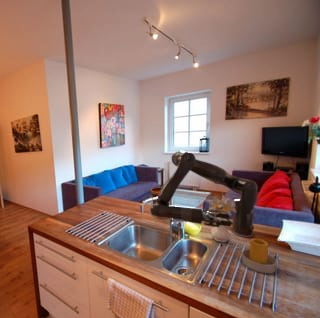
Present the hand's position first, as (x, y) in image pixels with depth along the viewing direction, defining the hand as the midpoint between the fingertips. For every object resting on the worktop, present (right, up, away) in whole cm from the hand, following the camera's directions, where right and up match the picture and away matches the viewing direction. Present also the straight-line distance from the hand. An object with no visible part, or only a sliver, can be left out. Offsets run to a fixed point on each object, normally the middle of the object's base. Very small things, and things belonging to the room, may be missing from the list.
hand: (230, 220), depth 95 cm
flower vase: (+10, -18, +19) cm, 28 cm away
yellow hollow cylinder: (+12, -20, -2) cm, 23 cm away
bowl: (+12, -20, -2) cm, 23 cm away
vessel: (-10, -14, +57) cm, 60 cm away
